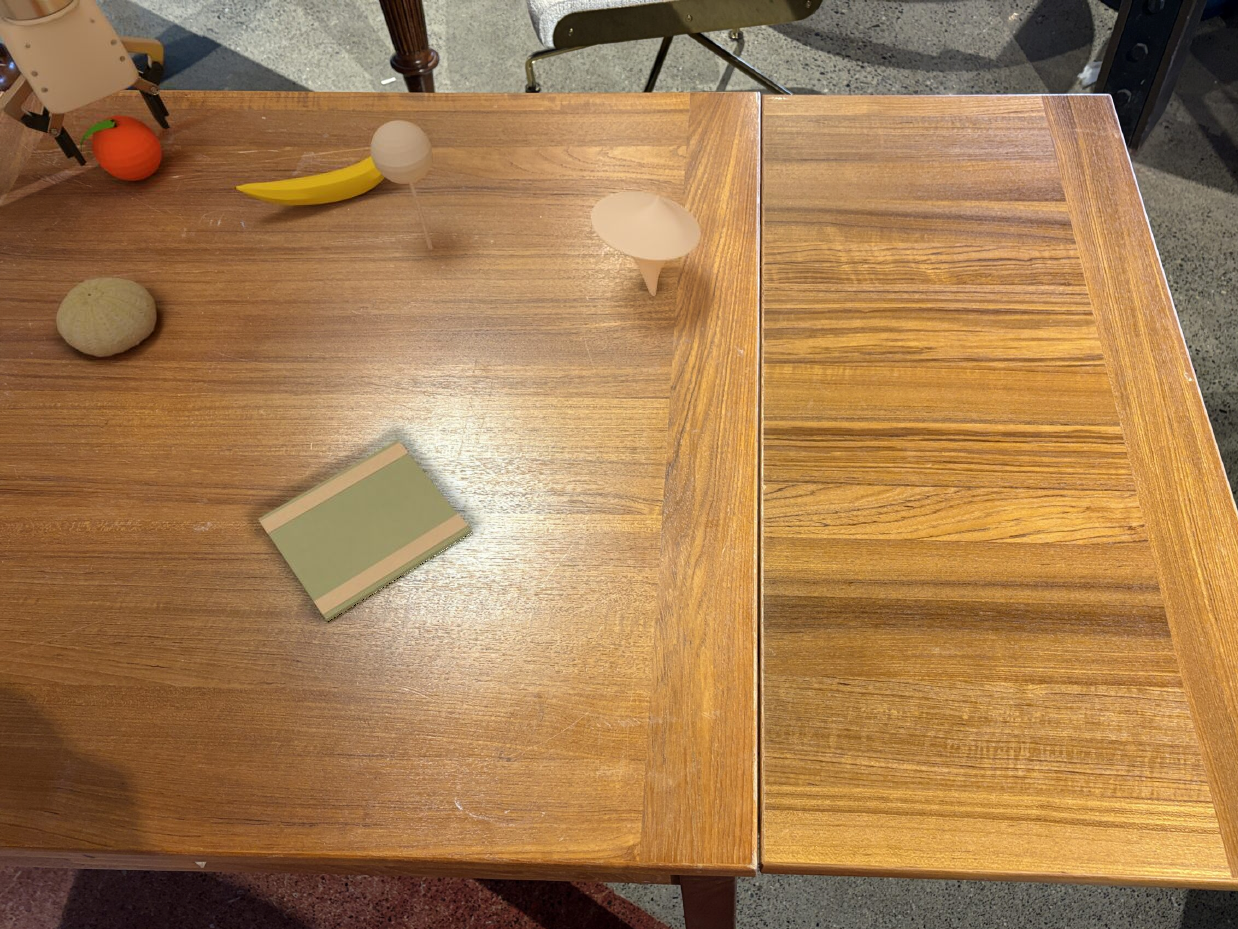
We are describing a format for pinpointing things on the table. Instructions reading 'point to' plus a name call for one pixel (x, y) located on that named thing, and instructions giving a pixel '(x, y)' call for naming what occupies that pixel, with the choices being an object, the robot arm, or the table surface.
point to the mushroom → (646, 230)
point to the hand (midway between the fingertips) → (122, 141)
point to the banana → (318, 186)
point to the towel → (363, 528)
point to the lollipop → (403, 157)
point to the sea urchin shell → (106, 316)
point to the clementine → (125, 147)
